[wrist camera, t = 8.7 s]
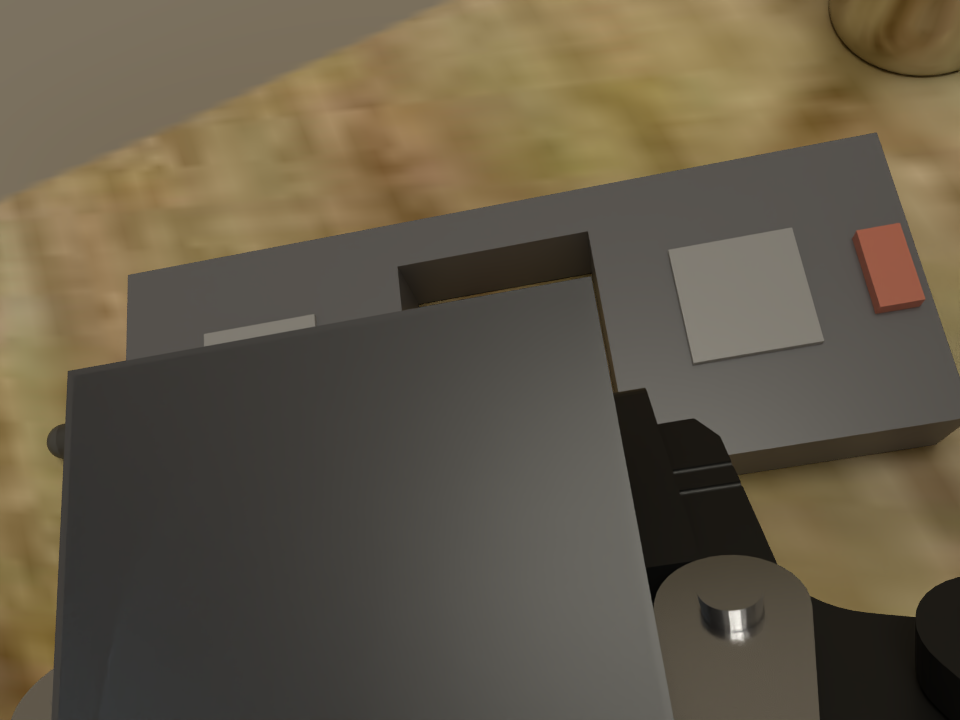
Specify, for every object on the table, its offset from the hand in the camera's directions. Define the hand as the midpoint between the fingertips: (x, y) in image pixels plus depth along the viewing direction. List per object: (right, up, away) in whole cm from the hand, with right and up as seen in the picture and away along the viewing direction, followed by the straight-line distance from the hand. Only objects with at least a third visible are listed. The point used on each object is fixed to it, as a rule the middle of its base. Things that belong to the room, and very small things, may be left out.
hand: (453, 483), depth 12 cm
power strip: (0, +1, +17) cm, 17 cm away
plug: (+1, -3, +4) cm, 5 cm away
